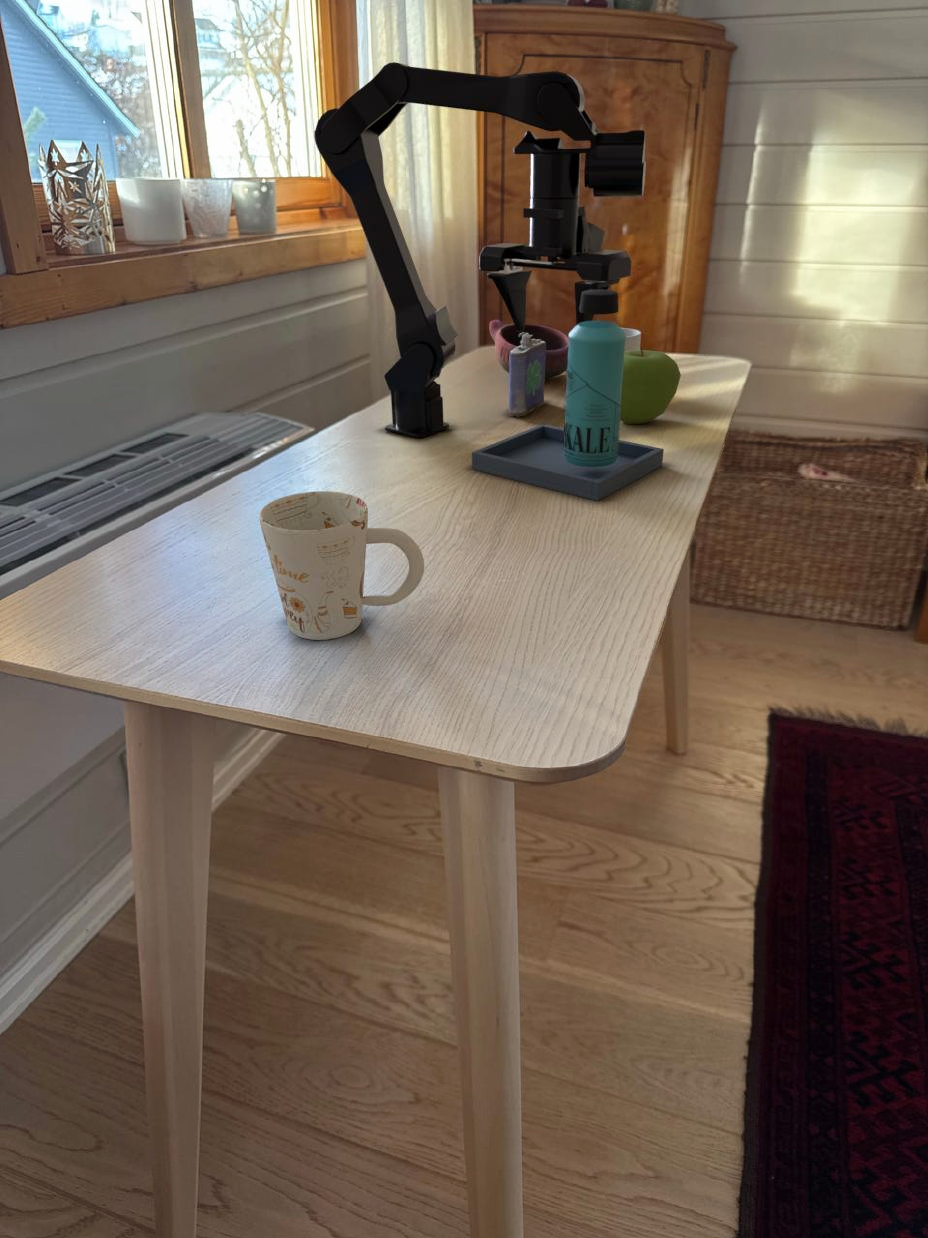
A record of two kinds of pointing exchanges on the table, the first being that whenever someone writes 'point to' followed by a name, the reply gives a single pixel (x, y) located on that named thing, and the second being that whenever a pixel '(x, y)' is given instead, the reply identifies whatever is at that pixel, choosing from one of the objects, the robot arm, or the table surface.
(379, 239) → the robot arm
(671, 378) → the apple
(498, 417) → the table surface
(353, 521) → the mug
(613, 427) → the beverage bottle
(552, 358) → the bowl
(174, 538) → the table surface
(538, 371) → the flask
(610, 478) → the tray
